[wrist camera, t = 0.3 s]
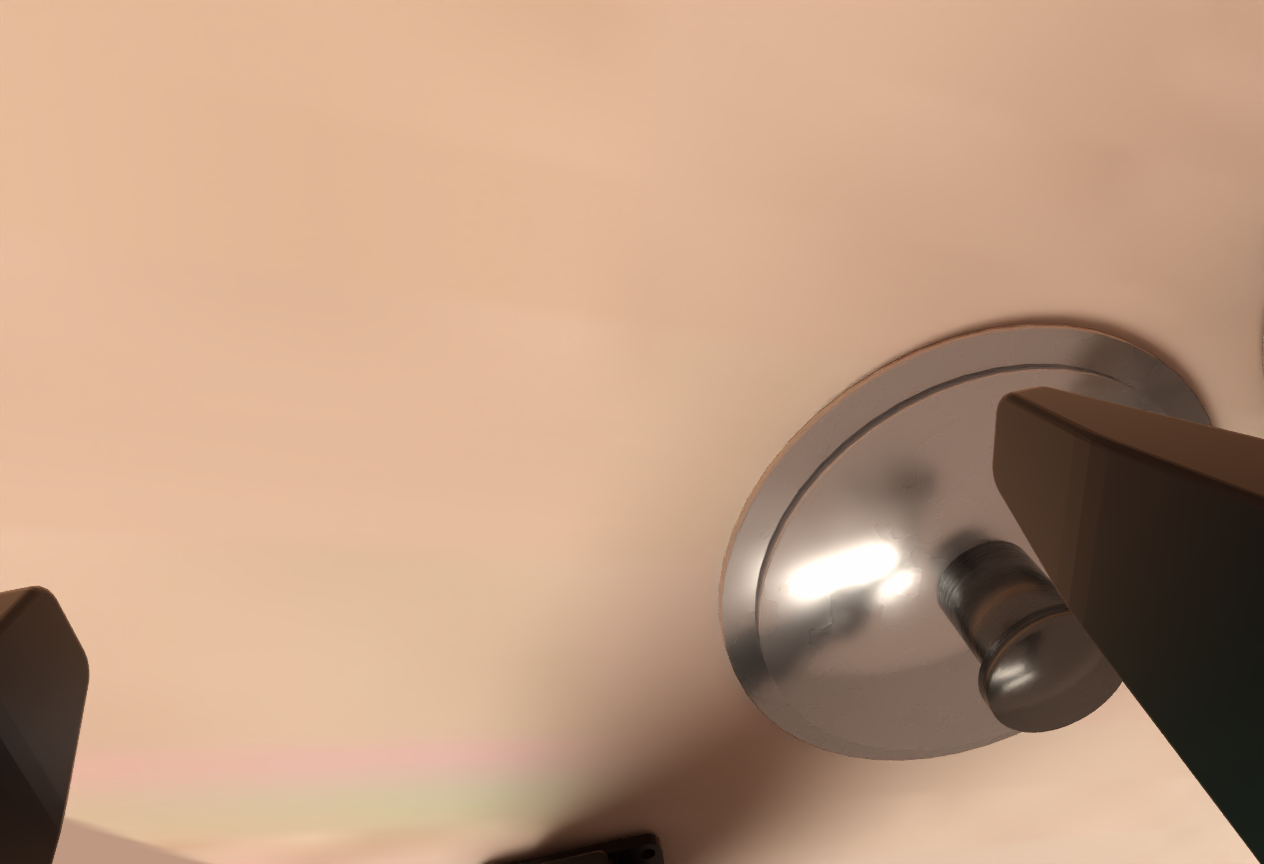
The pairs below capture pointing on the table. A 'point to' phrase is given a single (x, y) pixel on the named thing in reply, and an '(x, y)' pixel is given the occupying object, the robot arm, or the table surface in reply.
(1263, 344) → the dish
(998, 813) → the table surface
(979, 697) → the lid
